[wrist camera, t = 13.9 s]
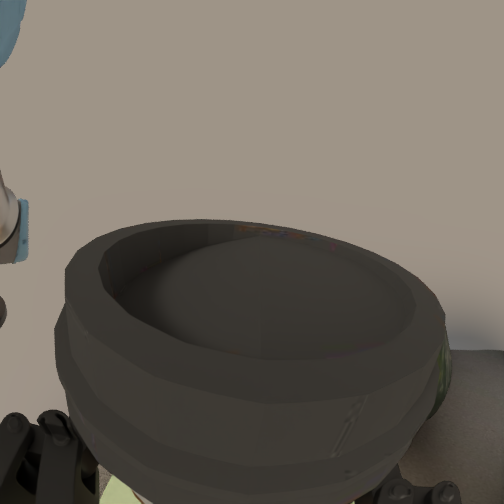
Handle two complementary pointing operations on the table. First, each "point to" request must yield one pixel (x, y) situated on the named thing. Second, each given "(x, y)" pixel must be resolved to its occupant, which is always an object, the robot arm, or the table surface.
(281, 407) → the coffee cup
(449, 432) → the table surface
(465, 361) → the table surface
